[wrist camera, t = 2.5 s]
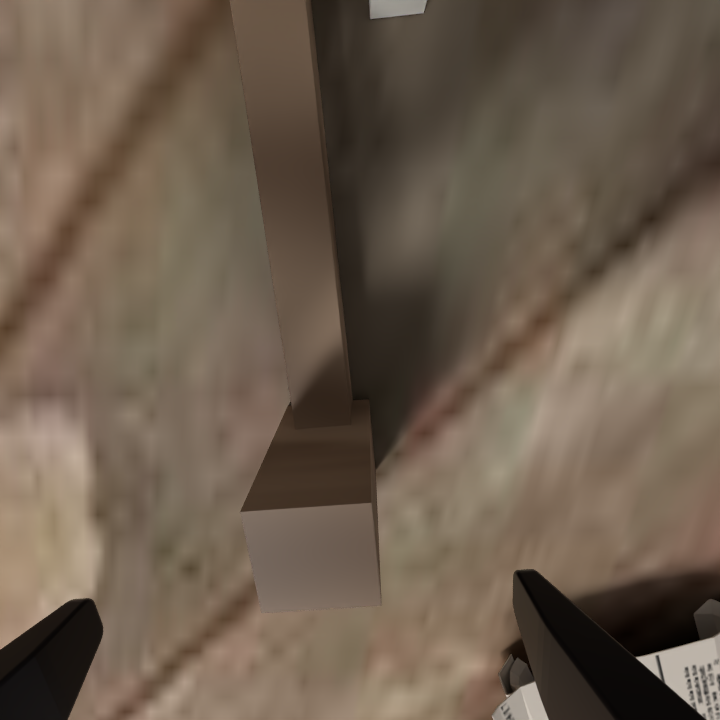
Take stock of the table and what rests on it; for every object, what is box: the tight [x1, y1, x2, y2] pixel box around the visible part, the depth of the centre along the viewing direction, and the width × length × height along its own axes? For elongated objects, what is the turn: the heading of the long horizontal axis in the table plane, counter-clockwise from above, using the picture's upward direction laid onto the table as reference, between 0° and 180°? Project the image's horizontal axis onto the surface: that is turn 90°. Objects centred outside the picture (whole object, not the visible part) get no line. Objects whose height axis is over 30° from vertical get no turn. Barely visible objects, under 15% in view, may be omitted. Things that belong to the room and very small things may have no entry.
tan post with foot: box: [230, 0, 382, 613], centre depth 10 cm, size 20×7×6 cm, turn 5°
